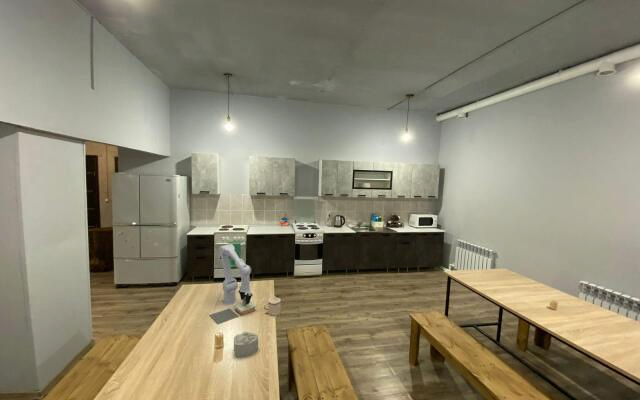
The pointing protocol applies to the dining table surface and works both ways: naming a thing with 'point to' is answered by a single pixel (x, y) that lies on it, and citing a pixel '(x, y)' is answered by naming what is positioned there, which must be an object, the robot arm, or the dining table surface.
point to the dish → (246, 311)
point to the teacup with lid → (273, 306)
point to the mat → (223, 316)
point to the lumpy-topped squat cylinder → (245, 344)
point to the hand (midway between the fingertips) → (245, 301)
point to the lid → (244, 305)
